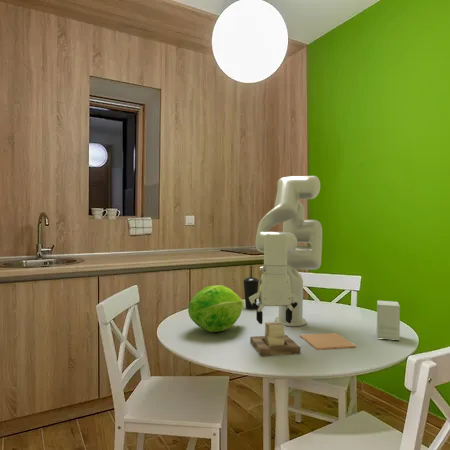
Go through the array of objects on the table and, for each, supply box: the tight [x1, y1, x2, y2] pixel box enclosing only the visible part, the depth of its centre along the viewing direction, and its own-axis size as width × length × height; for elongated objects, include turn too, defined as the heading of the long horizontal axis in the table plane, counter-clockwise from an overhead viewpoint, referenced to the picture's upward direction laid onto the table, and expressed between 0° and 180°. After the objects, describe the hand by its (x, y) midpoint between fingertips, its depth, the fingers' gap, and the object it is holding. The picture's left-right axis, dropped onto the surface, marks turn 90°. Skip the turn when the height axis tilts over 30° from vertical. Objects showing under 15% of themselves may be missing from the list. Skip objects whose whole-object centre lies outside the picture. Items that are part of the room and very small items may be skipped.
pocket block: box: [249, 334, 301, 357], centre depth 127 cm, size 13×13×2 cm
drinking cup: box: [242, 265, 260, 310], centre depth 181 cm, size 8×8×20 cm
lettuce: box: [187, 284, 246, 333], centre depth 146 cm, size 19×25×17 cm
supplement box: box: [376, 300, 401, 341], centre depth 139 cm, size 7×7×13 cm
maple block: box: [264, 321, 285, 346], centre depth 127 cm, size 5×5×8 cm
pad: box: [299, 332, 357, 351], centre depth 134 cm, size 14×14×1 cm
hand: (274, 322), depth 126 cm, fingers open, 9 cm apart
